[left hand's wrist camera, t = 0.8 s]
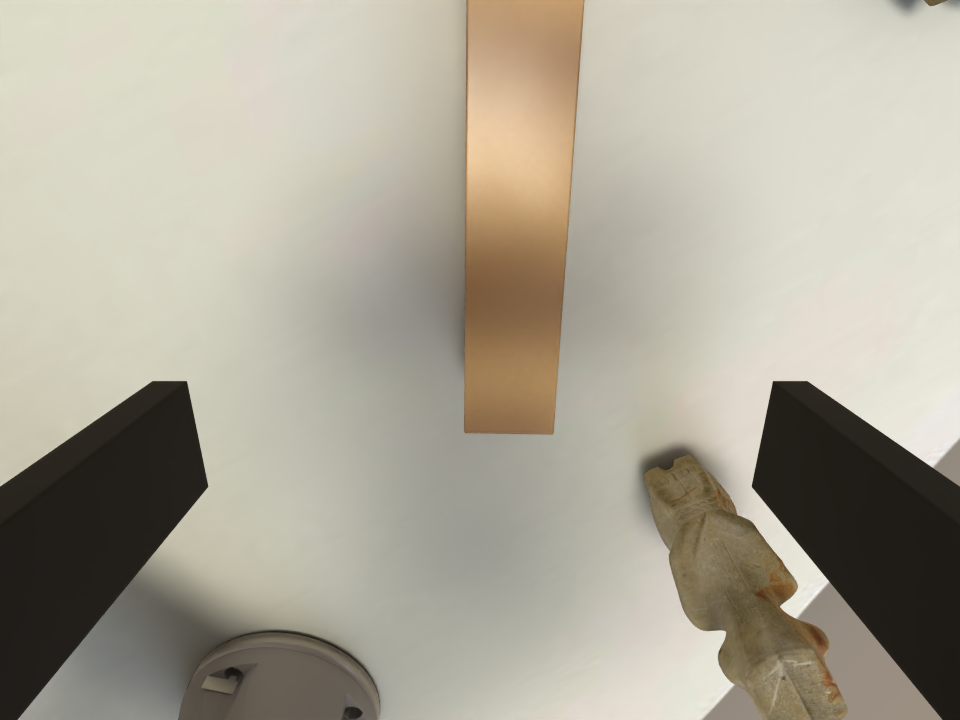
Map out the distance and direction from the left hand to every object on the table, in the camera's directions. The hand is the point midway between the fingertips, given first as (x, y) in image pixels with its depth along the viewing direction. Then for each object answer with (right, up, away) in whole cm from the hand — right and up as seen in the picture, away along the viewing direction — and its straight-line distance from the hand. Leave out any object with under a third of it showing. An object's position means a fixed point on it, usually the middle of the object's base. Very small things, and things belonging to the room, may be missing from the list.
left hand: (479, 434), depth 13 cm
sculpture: (+14, -7, +25) cm, 29 cm away
